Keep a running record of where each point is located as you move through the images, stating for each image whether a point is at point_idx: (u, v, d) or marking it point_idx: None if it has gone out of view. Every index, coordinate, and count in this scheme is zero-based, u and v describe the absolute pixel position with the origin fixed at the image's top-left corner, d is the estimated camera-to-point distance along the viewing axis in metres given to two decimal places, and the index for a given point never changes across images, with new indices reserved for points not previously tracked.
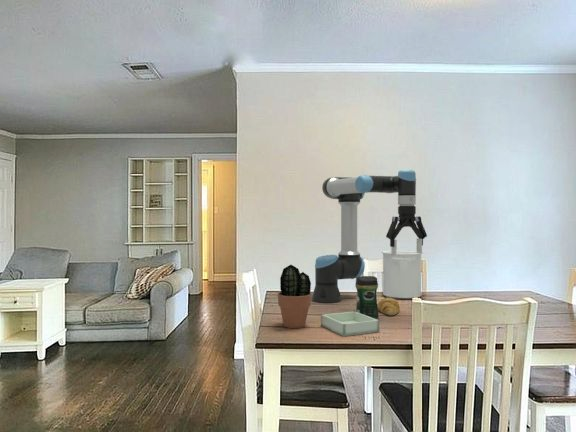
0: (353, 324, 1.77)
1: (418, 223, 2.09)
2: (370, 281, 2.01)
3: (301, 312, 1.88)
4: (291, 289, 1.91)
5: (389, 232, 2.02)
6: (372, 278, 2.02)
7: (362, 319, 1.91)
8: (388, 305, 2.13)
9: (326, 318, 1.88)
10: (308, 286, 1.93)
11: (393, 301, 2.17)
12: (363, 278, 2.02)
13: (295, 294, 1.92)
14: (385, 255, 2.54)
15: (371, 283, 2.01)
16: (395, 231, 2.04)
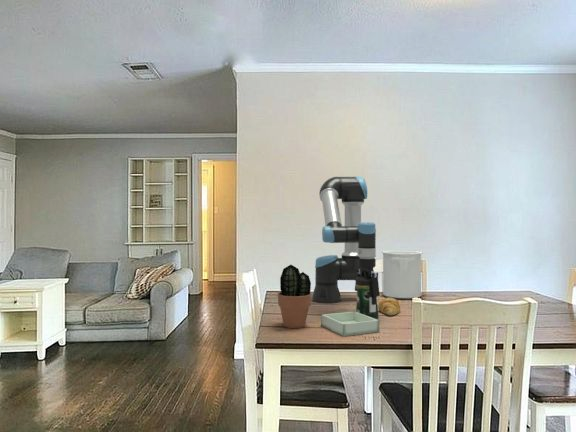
0: (353, 324, 1.77)
1: None
2: (370, 281, 2.01)
3: (301, 312, 1.88)
4: (291, 289, 1.91)
5: None
6: None
7: (362, 319, 1.91)
8: (388, 305, 2.13)
9: (326, 318, 1.88)
10: (308, 286, 1.93)
11: (393, 301, 2.17)
12: (363, 278, 2.02)
13: (295, 294, 1.92)
14: (385, 255, 2.54)
15: (371, 283, 2.01)
16: None
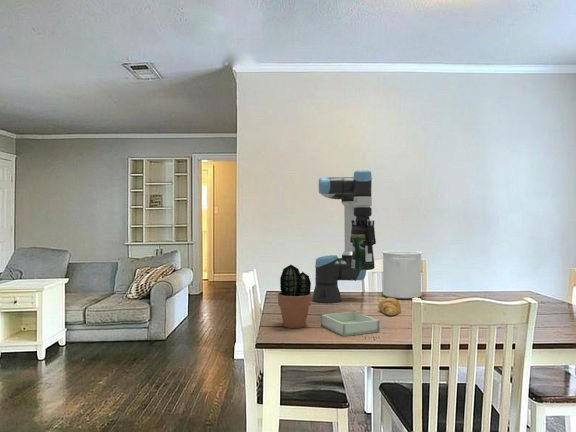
0: (353, 324, 1.77)
1: None
2: (366, 230, 1.96)
3: (301, 312, 1.88)
4: (291, 289, 1.91)
5: None
6: None
7: (362, 319, 1.91)
8: (388, 305, 2.13)
9: (326, 318, 1.88)
10: (308, 286, 1.93)
11: (394, 301, 2.17)
12: (359, 227, 1.97)
13: (295, 294, 1.92)
14: (385, 255, 2.54)
15: None
16: None
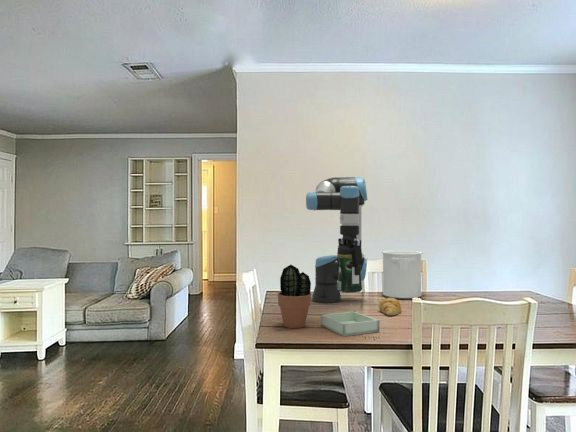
0: (353, 324, 1.77)
1: None
2: (353, 249, 1.83)
3: (301, 312, 1.88)
4: (291, 289, 1.91)
5: None
6: None
7: (362, 319, 1.91)
8: (388, 305, 2.13)
9: (326, 318, 1.88)
10: (308, 286, 1.93)
11: (394, 301, 2.16)
12: (345, 247, 1.84)
13: (295, 294, 1.92)
14: (385, 255, 2.54)
15: None
16: None
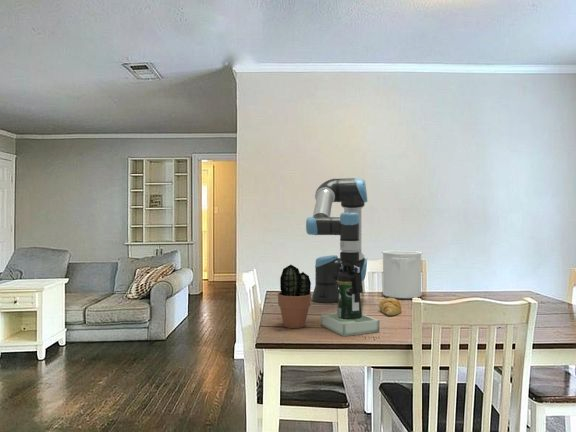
0: (353, 324, 1.77)
1: None
2: (353, 276, 1.83)
3: (301, 312, 1.88)
4: (291, 289, 1.91)
5: None
6: None
7: (362, 319, 1.91)
8: (388, 305, 2.13)
9: (326, 318, 1.88)
10: (308, 286, 1.93)
11: (394, 301, 2.16)
12: (345, 273, 1.85)
13: (295, 294, 1.92)
14: (385, 255, 2.54)
15: None
16: None
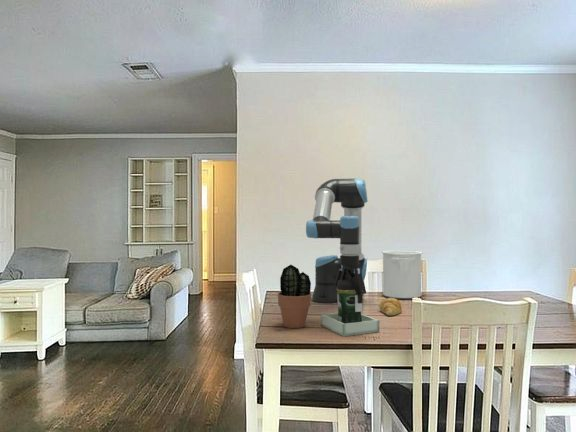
0: (353, 324, 1.77)
1: None
2: None
3: (301, 312, 1.88)
4: (291, 289, 1.91)
5: None
6: None
7: (362, 319, 1.91)
8: (388, 305, 2.13)
9: (326, 318, 1.88)
10: (308, 286, 1.93)
11: (395, 301, 2.16)
12: (345, 282, 1.85)
13: (295, 294, 1.92)
14: (385, 255, 2.54)
15: (353, 287, 1.84)
16: None
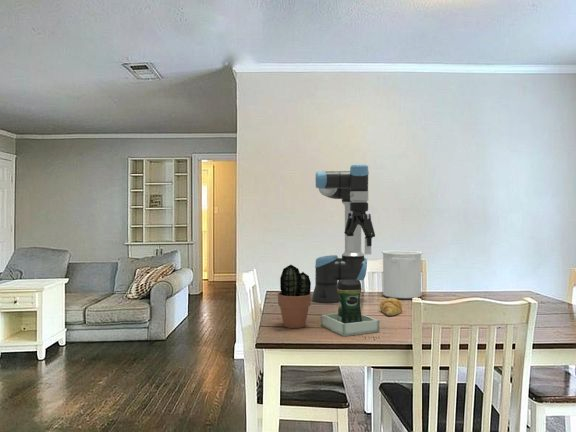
0: (353, 324, 1.77)
1: None
2: (354, 285, 1.84)
3: (301, 312, 1.88)
4: (291, 289, 1.91)
5: None
6: (355, 282, 1.85)
7: (362, 319, 1.91)
8: (388, 305, 2.13)
9: (326, 318, 1.88)
10: (308, 286, 1.93)
11: (395, 301, 2.16)
12: (345, 282, 1.85)
13: (295, 294, 1.92)
14: (385, 255, 2.54)
15: (354, 287, 1.84)
16: None
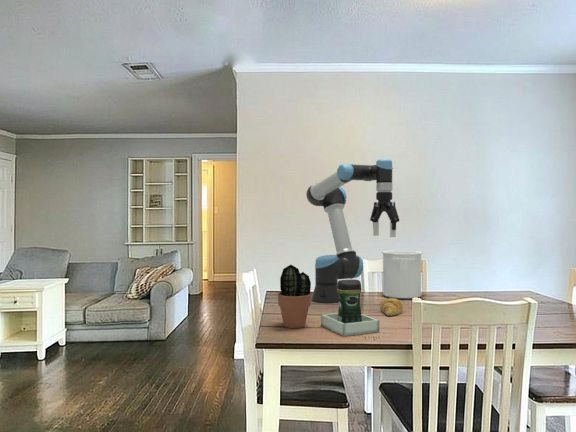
0: (353, 324, 1.77)
1: None
2: (354, 285, 1.84)
3: (301, 312, 1.88)
4: (291, 289, 1.91)
5: None
6: (355, 282, 1.85)
7: (362, 319, 1.91)
8: (389, 305, 2.13)
9: (326, 318, 1.88)
10: (308, 286, 1.93)
11: (395, 301, 2.16)
12: (345, 282, 1.85)
13: (295, 294, 1.92)
14: (385, 255, 2.54)
15: (354, 287, 1.84)
16: None
